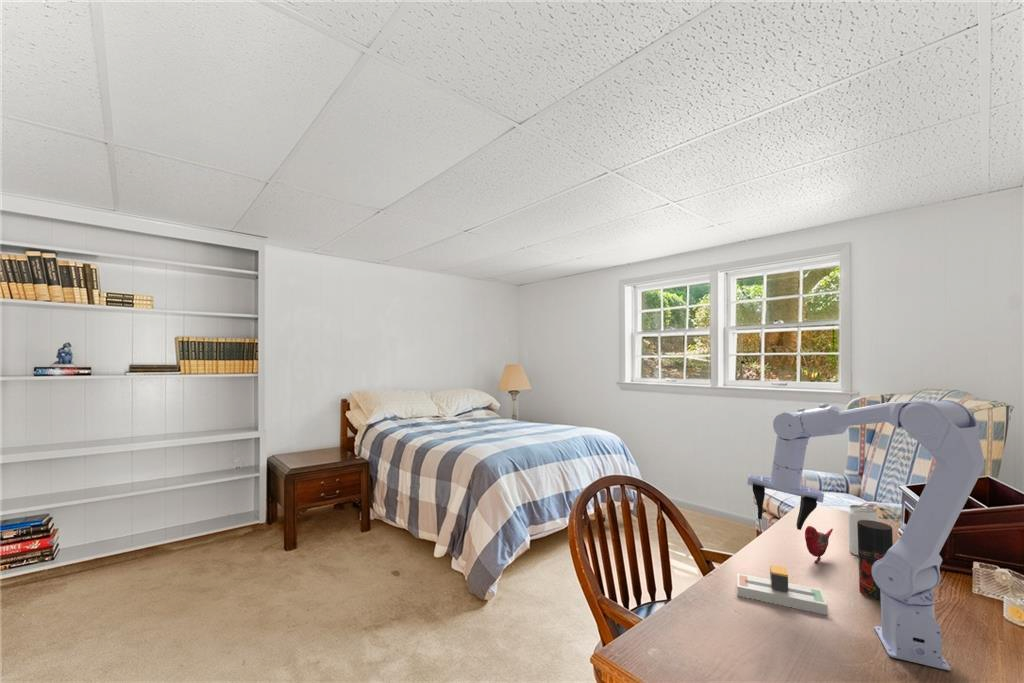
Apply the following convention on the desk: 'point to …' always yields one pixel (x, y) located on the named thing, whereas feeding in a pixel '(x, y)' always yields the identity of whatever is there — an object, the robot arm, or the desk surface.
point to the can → (853, 516)
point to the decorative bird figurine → (816, 542)
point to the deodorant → (871, 553)
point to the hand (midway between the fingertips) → (778, 522)
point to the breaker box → (782, 594)
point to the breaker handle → (779, 578)
